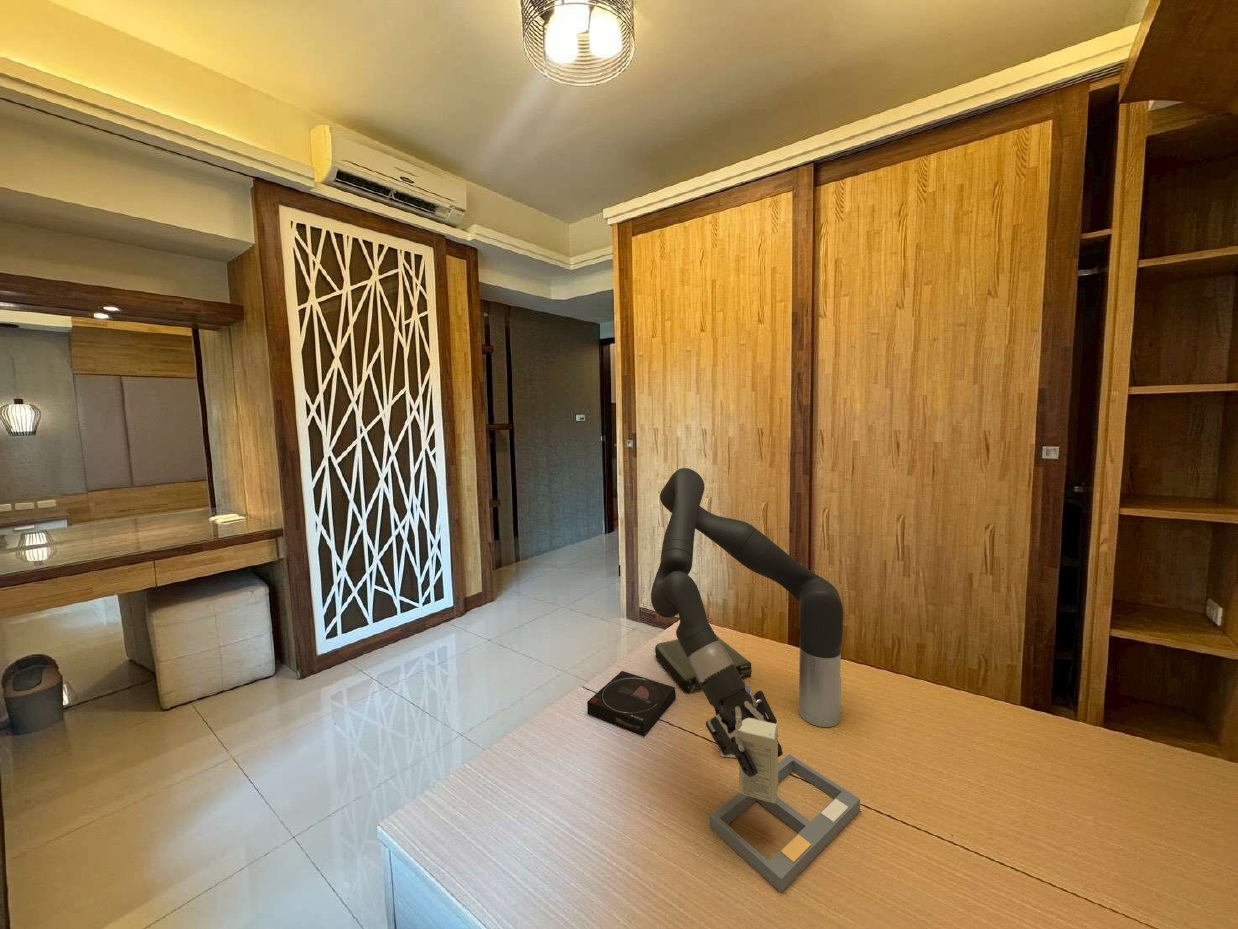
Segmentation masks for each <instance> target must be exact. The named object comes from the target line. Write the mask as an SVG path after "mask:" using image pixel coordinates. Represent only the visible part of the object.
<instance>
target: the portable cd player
mask: <svg viewBox="0 0 1238 929" xmlns="http://www.w3.org/2000/svg"><path fill="white" fill-rule="evenodd" d="M676 700H677V692H676V687H675V686H671V685H670V684H669V685H668V684H666V683H663V682H660V681H656V680H653V679H650V678H646V677H642V676H640V675H637V674H634V673H630V672H628V671H626V670H625V671H624V670H621V671H620V672H619V673H617V674H616V675H615V676H614V677H613V678H612V679H611V680H610V681H609V682H608V683H606V684H605V685H604V686H603V687H602V688H601V689H599V691H597V692H596V693H595V694H593V696H592V697H590V699H589V700H587V701H586V705H587V715H588V716H590V717H593V718H595V719H597V720H600V721H603V722H604V723H608V724H610V725H613V726H614V727H615V726H616V727H618V728H621V729H623V730H625V731H628V732H630V733H632V734H636V735H638V736H641V737H643V738H645V737H646V736H647V735H648V733H649V732H650V731H651V729H652V728H653V727H655V725H656V724H657V723H658V721H659V720H660V719H661V718H662V717H663V715H664V714H665V713H666V712H667V710H668V709H670V707H671V705H672V704H673V703H674V702H675V701H676Z"/></svg>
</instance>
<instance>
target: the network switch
mask: <svg viewBox="0 0 1238 929" xmlns="http://www.w3.org/2000/svg"><path fill="white" fill-rule="evenodd" d="M715 635H716V636H717V638H718V641H719V642H720V643H721V645H722V646H723V647H724V649H725V650H726V652H727V653H728V655H729V657H730V658H731V660H732V662H733V664H734V665H735V667H736V669H737V671H738V673H739V674H740V676H741V678H742V679H743V678H745V677H747V676H748V678H749V677H751V675H752V663H751V661H749V660H748V659H746V657H744V656H743V655H742V654H740V653H739V652H738V651H737V650H735V649H734V648H733V647H732V646H730V645H729V644H727V643H726V642H725V641H724V640H723V639H722V638H720V637H719V636H718V635H717V634H716V633H715ZM654 653H655V658H656V659H657V661H658V662H659V663H660V664H661V665H662V667H664V669H665V670H666V671H667V672H668V673H669V675H670V677H671V678H672V679H674V681H675V682H676V684H677V685H678V686H679V688H681V690H682V691H683V692H684V693H685V694H690V693H693V692H695V691H699V690H702V688H701V686H700V684H699V682H698V680H697V678H696V676H695V674H694V672H693V670H692V668H691V665H690V663H689V660H688V658H687V656H686V654H685V652H684V651H683V649H682V647H681V645H680V643H679V641H678V638H676V639H673V640H668V641H663V642H659V643H657V644H655V647H654ZM702 691H703V690H702Z"/></svg>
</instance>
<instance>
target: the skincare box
mask: <svg viewBox="0 0 1238 929" xmlns="http://www.w3.org/2000/svg"><path fill="white" fill-rule="evenodd" d="M778 727H779V726H778V723H776V724H774V723H771V722H767V721H762V720H758V719H753V718H746V719H744V720H743V721H742V726H741V727H739V728H740V729H738V731H739V734H740V735H739V737H740V738H741V739H742V740H743V743H744V751H745V750H747V752H748V753H749V755H750V757H751V759H752V761H753V763H754V765H755V767H756V768H757V770H758V773H757V774H756V775H755V776H752V777H749V776H748V775H746V774H745V773H744V772H743V770H742V768H741V766H740V764H739V763H738V776H739V777H738V780H739V784H738V786H739V792H740V793H741V794H744V795H747V796H750V797H753V798H757V799H760V800H763V801H767V802H771V803H775V801H776V797H778V789H779V783H778V762H779V757H778V742H779V738H778V737H779V735H778V732H779V731H778V730H779V729H778ZM739 792H738V793H739Z"/></svg>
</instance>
